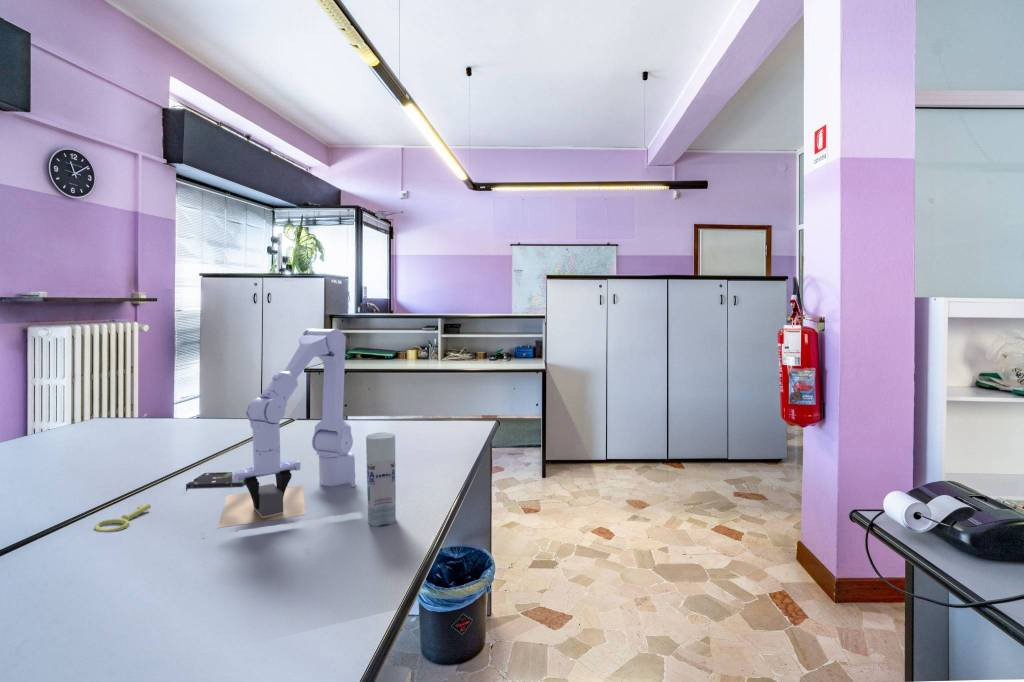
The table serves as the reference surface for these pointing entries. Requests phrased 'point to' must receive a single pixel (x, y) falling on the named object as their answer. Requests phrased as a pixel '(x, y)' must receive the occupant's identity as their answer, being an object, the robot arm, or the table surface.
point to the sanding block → (270, 501)
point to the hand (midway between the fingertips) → (268, 505)
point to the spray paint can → (381, 478)
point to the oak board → (243, 512)
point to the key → (123, 519)
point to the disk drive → (214, 480)
